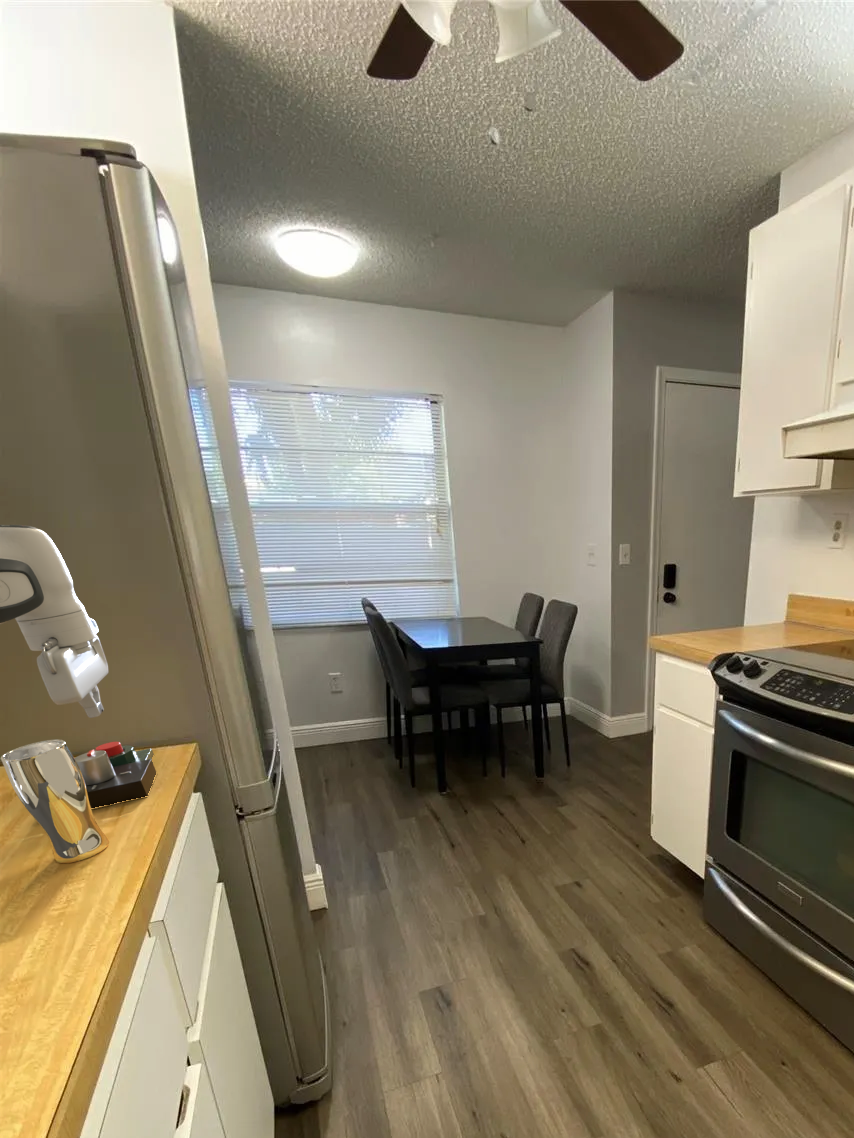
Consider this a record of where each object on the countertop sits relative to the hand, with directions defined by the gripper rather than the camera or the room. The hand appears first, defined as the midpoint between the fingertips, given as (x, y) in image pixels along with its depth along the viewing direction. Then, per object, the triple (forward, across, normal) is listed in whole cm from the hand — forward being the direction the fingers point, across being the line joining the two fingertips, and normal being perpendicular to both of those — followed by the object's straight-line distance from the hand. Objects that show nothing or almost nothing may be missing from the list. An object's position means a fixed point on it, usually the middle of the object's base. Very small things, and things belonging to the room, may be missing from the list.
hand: (96, 714), depth 106 cm
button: (+7, 0, 0) cm, 7 cm away
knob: (+8, -10, 0) cm, 13 cm away
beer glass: (+11, -30, -1) cm, 32 cm away
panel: (+11, -10, 0) cm, 15 cm away
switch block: (+11, 0, 0) cm, 11 cm away
